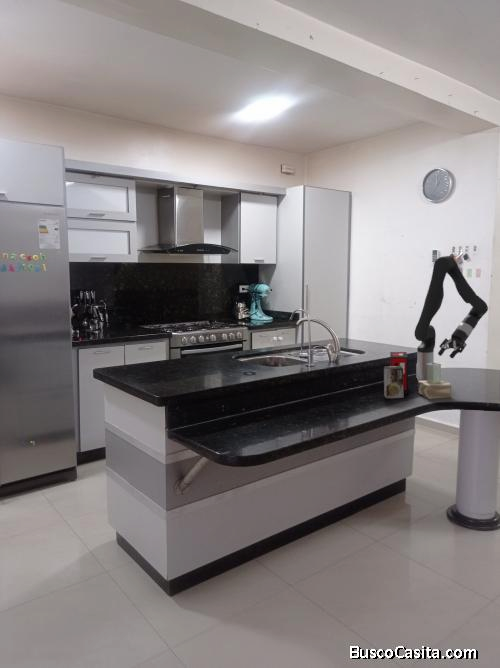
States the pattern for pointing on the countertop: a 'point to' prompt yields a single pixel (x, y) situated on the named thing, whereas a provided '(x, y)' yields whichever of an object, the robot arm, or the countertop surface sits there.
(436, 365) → the tea tin
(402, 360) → the cleaning product box
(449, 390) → the birch block
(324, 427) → the countertop surface
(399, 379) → the coffee box
